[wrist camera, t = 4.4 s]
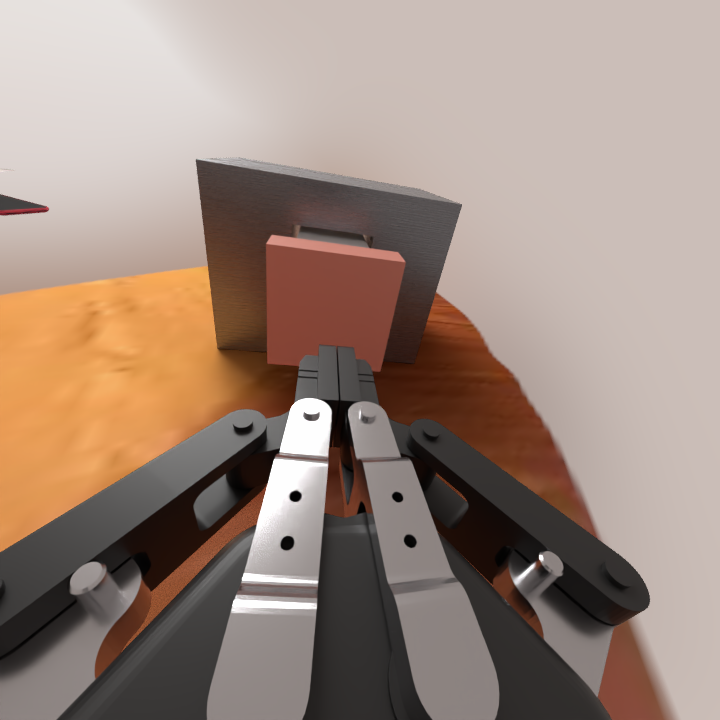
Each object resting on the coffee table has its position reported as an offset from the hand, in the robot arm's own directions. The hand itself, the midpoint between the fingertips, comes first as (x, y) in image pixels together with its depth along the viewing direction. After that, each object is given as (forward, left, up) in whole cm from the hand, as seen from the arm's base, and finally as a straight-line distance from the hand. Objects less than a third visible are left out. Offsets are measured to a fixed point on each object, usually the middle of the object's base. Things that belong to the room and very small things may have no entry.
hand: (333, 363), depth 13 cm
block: (0, +19, -8) cm, 20 cm away
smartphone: (-56, +53, -9) cm, 77 cm away
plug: (0, +12, -4) cm, 12 cm away
